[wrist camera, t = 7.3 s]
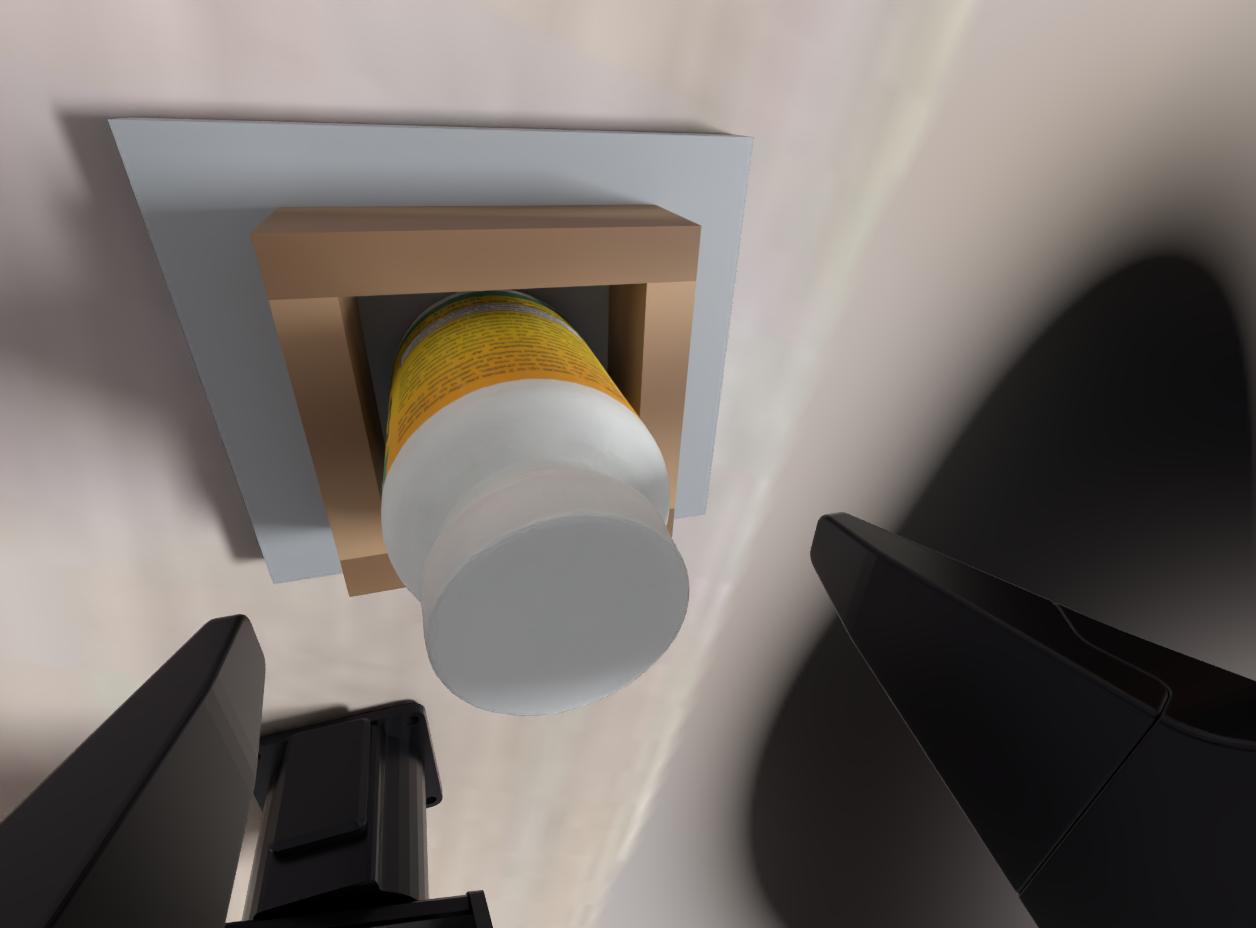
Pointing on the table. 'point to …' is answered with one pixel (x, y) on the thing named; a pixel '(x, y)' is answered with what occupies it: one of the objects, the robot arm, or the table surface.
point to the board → (401, 176)
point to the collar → (455, 262)
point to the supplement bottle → (526, 509)
